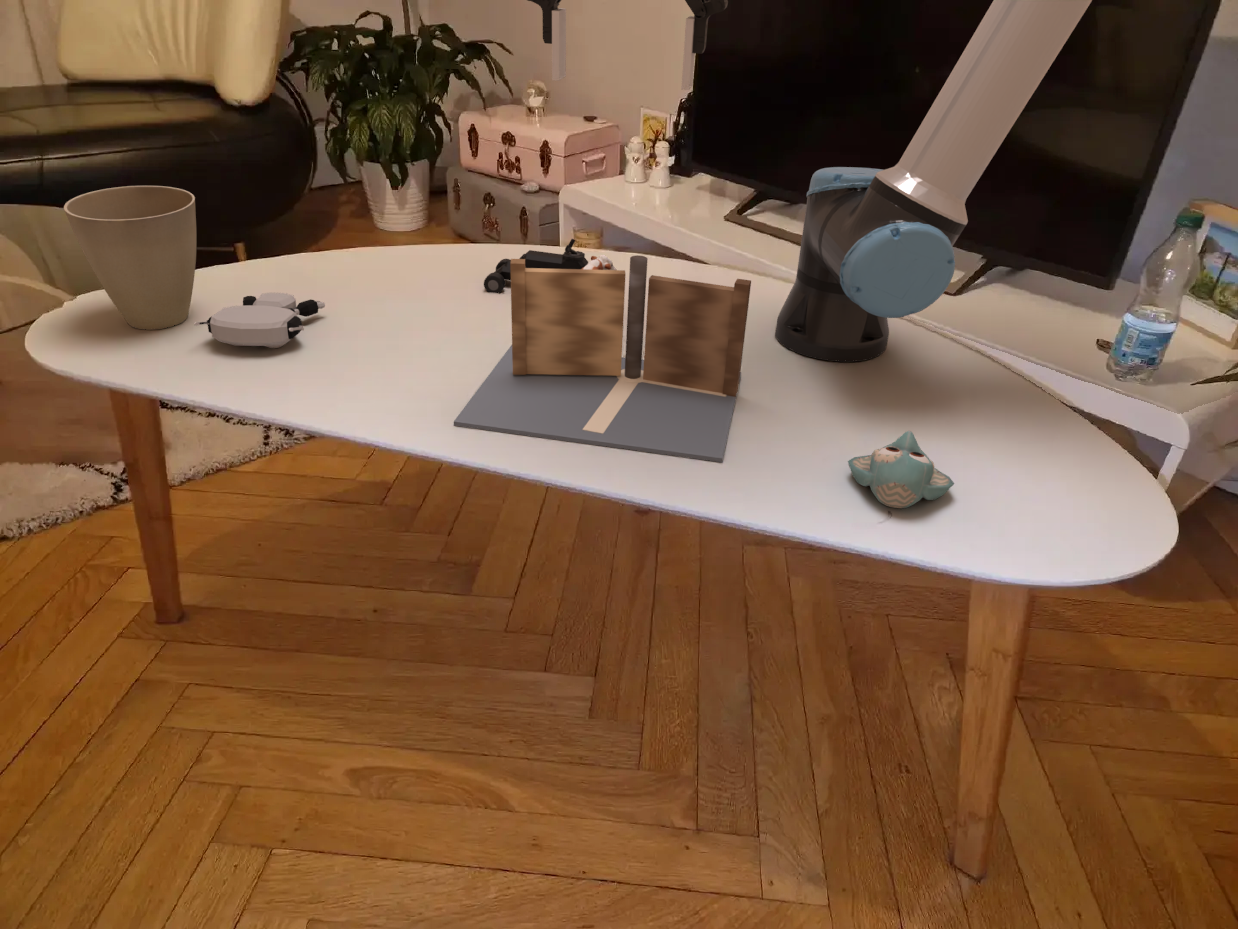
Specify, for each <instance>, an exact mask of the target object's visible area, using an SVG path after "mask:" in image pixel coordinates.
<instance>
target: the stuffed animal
mask: <svg viewBox="0 0 1238 929" xmlns="http://www.w3.org/2000/svg"><path fill="white" fill-rule="evenodd" d="M847 463H848V466H849V470H850V472H851V474H852V477H853V478H854V480H855V482H857V484H859V485H861V486H863V487H870V490H871V492H872V494H873V495H874V496H875V498H876V499H877V501H878V502H880V503H881V504H883V505H884V506H887V507H890V508H893V509H907V508H909V507H911V506H913V505H915V504H916V503H918V502H919V501H921V500H922V499H924V500H927V501H936V500H937V499H939V498H941V497H943V495H945V494H946V493H947V492H948V491H949V490H950V489H951V488H952V487H953V486H954V485H955V483H954V481H953V480H952V478H951V477H950V476H948V475H946V474H944V473H943V472H942V471H940V470H938V469H937V468H935V464H934V462H933V461H932V460H931V459H930V458H929V457H928V456H927V454H926V453H925V452H924V451H923V450H922V449H921V447H920V446H919V444H918V441H917V438H916V437H915V434H914V433H913V432H912V431H911V430H907V431H905V432H904V433H903V434H901V435H900V436H899V437H898V438H897V439H896V440H895V441H893V442H891V443H890V444H887V445H885V446H883V447H881V448H880V449H879V448H878V449H877V448H876V449H875V450H874V451H873V452H872V454H869V455H868V454H867V455H862V456H861V455H859V456H855V457H853V458H851V459H849V460H847Z"/></svg>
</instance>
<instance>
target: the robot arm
mask: <svg viewBox="0 0 1238 929" xmlns="http://www.w3.org/2000/svg"><path fill="white" fill-rule="evenodd" d="M527 1H528V2H532V3H534V4H536V5H538V6H539V7H540V8H541V11H542V40H543V42H544V44H548V45H551V80H552V81H555V82H556V81H561V80H563V79H564V78H566V77H567V72H566V71H567V66H566V65H567V8H561V7H559V6H560V2H561V1H562V0H527ZM684 1H685V3H686V5H687V6H688V8H689V9H690V10H691V12H692V14H694V15H693V16H692V15H690V16H688V17H687V18H685V26H684V27H685V28H684V29H685V30H684V42H683V43H684V44H683V45H684V46H683V60H682V61H683V62H682V72H681V73H682V77H681V90H683V91H690V89H691V88H693V83H694V71H695V68H694V67H695V56H696V54H699V55H700V54H701V55H702V54H703V53H704V52H705V50H706V47H707V36H708V27H709V26H708V25H709V24H708V23H709V18H710V17H711V16H712V15H715V14H717V13H722V12H723V11H724V10H726V9H727V8H728V4H729V0H708V1H707V0H684ZM1092 1H1093V0H993V1H992V3H991V4H990V6H988V7H989V8H988V9H987V11H986V12H985V15H984V16H983V18H982V19H981V21H980V22H979V24H978V26H977V28H976V30H975V32H973V35H972V37H971V38H970V39H969V42H968V43H967V44H966V47H965V48H964V50H963V52H962V54H961V55H960V57H959V59H958V60H957V62H956V64H955V65H954V67H953V69H952V71H951V72H950V74H949V76H948V77H947V79H946V80H945V83H944V85H943V86H942V88H941V90H940V91H939V92H938V95H937V96H936V98H935V99H934V101H933V103H932V104H931V107H930V108H929V109H928V111H927V113H926V115H925V117H924V118H923V120H922V121H921V124H920V125H919V127H918V129H917V130H916V132H915V134H914V135H913V137H912V139H911V141H910V142H909V144H908V145H907V147H906V149H905V151H904V152H903V154H902V156H901V158H900V159H899V161H898V162H897V163H896V164H895V165H894V166H892V167H889V168H885V169H880V168H871V167H853V166H852V167H851V166H849V167H847V166H833V167H832V166H831V167H824V168H820V169H818V170H816V171H814V173H813V174H812V177H811V179H810V183H809V187H808V191H807V192H806V198H807V199H806V206H805V214H804V220H803V228H802V233H801V234H802V235H801V241H800V250H799V255H798V262H797V270H796V276H795V281H794V284H793V285H792V288H791V290H790V291H789V294H788V295H787V298H786V299H785V301H784V303H783V305H782V308H781V310H780V311H779V313H778V316H777V319H776V325H775V334H774V335H775V337H776V339H777V341H778V342H779V343H780V344H781V345H783V347H785V348H787V349H788V350H791V351H792V352H795V353H798V354H800V355H803V356H806V357H810V358H814V359H817V360H823V361H824V360H825V361H829V362H830V361H831V362H845V363H846V362H847V363H848V362H850V363H851V362H860V361H861V362H863V361H868V360H870V359H875V358H877V357H879V356H881V355H882V354H883V353H884V352H885V351H886V350H887V345H888V339H889V336H890V328H889V320H888V319H898V318H899V319H900V318H904V317H907V316H909V315H914V314H917V313H920V312H921V311H924V310H925V309H927V308H928V307H931V305H933V304H934V303H935V302H937V300H938V299H939V298H940V297H942V295H944V292H946V290H948V287H949V285H950V283H951V281H952V279H953V276H954V274H955V267H956V261H955V250H954V247H953V246H954V245H955V243H956V241H958V238H959V237H960V236H961V234H962V232H963V231H964V229H965V227H966V226H967V224H968V222H969V220H968V215H967V210H966V205H965V204H966V201H967V198H968V197H969V195H970V194H971V192H972V191H973V189H974V188H975V186H976V184H977V182H978V181H979V179H980V178H981V177H982V175H983V174H984V172H985V170H986V169H987V167H988V166H989V164H990V162H991V160H992V159H993V157H994V156H995V155H996V153H997V151H998V149H999V148H1000V147H1001V145H1002V143H1003V142H1004V140H1005V138H1006V137H1007V135H1008V134H1009V133H1010V131H1011V129H1012V127H1013V126H1014V125H1015V123H1016V121H1017V119H1018V118H1019V117H1020V115H1021V113H1022V112H1023V110H1024V109H1025V107H1026V105H1027V104H1028V102H1029V100H1030V99H1031V98H1032V96H1033V94H1034V93H1035V91H1036V90H1037V88H1038V87H1039V85H1040V83H1041V82H1042V80H1043V79H1044V77H1045V76H1046V74H1047V73H1048V70H1050V67H1051V66H1052V64H1053V63H1054V62H1055V60H1056V58H1057V56H1058V55H1059V54H1060V52H1061V51H1062V49H1063V47H1064V45H1065V44H1066V42H1067V41H1068V39H1069V38H1070V36H1071V34H1072V33H1073V31H1074V30H1075V28H1076V27H1077V25H1078V23H1079V22H1080V21H1081V19H1082V17H1083V16H1084V14H1085V13H1086V11H1087V9H1088V7H1089V6H1090V4H1091V3H1092ZM558 7H559V8H558Z"/></svg>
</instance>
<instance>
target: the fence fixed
mask: <svg viewBox="0 0 1238 929" xmlns="http://www.w3.org/2000/svg"><path fill="white" fill-rule="evenodd" d="M629 258H630V259H629V278H628V295H627V296H628V299H627V318H626V338H625V339H626V340H625V356H624V358H625V377H627V378H630V379H637V378H640V377H641V363H642V360H644V370H643V379H644V380H649V381H655V382H660V383H666V384H672V385H678V386H683V387H689V388H695V389H700V390H706V391H712V392H718V393H722V394H725V395H727V396H733V397H736V398H737V396H738V393H739V389H740V388H739V386H740V382H739V380H740V381H741V377H740V372H742V371H741V370H742V360H743V353H744V345H745V336H746V328H747V322H748V321H747V319H748V312H749V301H750V294H751V286H752V280H749V279H745V278H744V279H742V278H737V279H736V280H735V282H734V286H728V285H721V284H715V283H708V282H700V281H694V280H686V279H680V278H675V277H667V276H660V275H653V274H652V275H650V277H649V278H648V287H647V274H648V273H647V272H648V257H646V256H645V255H632V256H630V257H629ZM647 288H648V289H647ZM646 290H647V293H646ZM646 295H647V307H646ZM646 309H647V310H646ZM645 310H646V311H645ZM645 312H646V320H645ZM645 323H646V324H645ZM644 324H645V325H644ZM644 328H645V337H644ZM643 341H644V342H643ZM643 343H644V346H643ZM643 347H644V356H643ZM643 357H644V359H643ZM736 395H737V396H736Z"/></svg>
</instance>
